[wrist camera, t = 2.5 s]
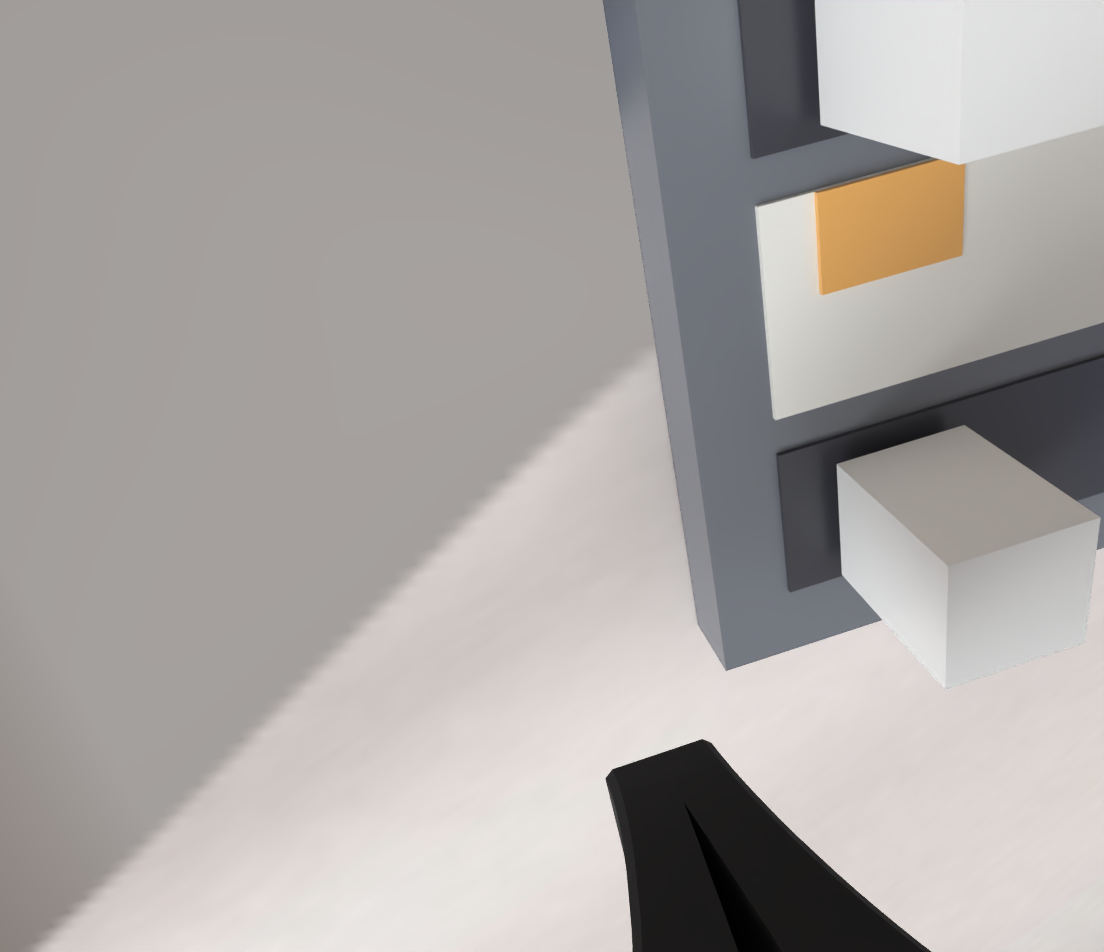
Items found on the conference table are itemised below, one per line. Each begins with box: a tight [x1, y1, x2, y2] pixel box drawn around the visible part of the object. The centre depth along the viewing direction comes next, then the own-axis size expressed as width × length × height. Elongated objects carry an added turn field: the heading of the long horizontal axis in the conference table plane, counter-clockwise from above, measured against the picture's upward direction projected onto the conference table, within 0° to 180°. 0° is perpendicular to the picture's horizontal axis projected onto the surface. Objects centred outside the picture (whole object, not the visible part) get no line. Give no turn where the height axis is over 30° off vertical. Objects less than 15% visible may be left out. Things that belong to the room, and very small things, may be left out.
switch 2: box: [837, 425, 1101, 690], centre depth 15 cm, size 2×2×3 cm
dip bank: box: [603, 0, 1104, 671], centre depth 16 cm, size 14×14×2 cm
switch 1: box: [815, 0, 1104, 165], centre depth 11 cm, size 2×2×3 cm
